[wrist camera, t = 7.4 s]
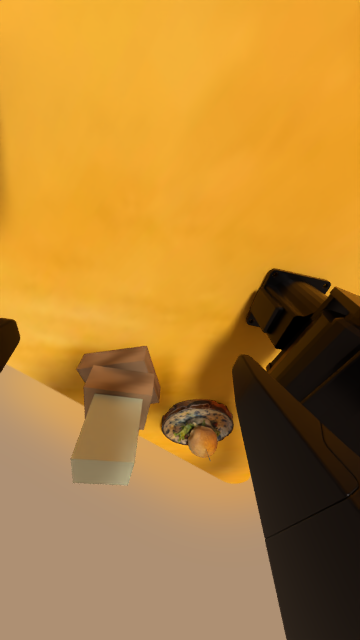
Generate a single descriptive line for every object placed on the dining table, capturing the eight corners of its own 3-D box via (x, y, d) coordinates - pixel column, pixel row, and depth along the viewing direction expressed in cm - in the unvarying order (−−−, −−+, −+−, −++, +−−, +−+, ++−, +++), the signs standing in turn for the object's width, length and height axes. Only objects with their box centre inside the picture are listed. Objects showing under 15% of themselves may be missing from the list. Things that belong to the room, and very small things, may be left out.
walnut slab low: (147, 343, 25) (144, 360, 23) (160, 384, 30) (159, 402, 27) (86, 351, 26) (76, 369, 23) (108, 390, 30) (101, 409, 28)
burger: (148, 421, 35) (142, 473, 29) (194, 387, 30) (199, 440, 24) (199, 442, 39) (204, 491, 33) (246, 415, 34) (262, 466, 28)
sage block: (142, 399, 22) (134, 462, 17) (136, 424, 24) (127, 485, 19) (94, 393, 21) (70, 458, 16) (93, 419, 24) (72, 482, 19)
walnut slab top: (154, 373, 24) (152, 395, 21) (146, 407, 28) (143, 429, 25) (93, 365, 23) (83, 387, 20) (93, 401, 27) (85, 424, 24)
